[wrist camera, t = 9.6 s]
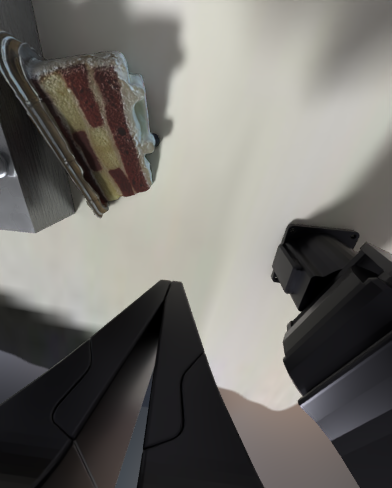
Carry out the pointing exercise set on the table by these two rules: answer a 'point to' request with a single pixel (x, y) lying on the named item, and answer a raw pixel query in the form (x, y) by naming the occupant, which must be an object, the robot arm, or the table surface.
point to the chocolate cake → (86, 117)
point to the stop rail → (27, 147)
